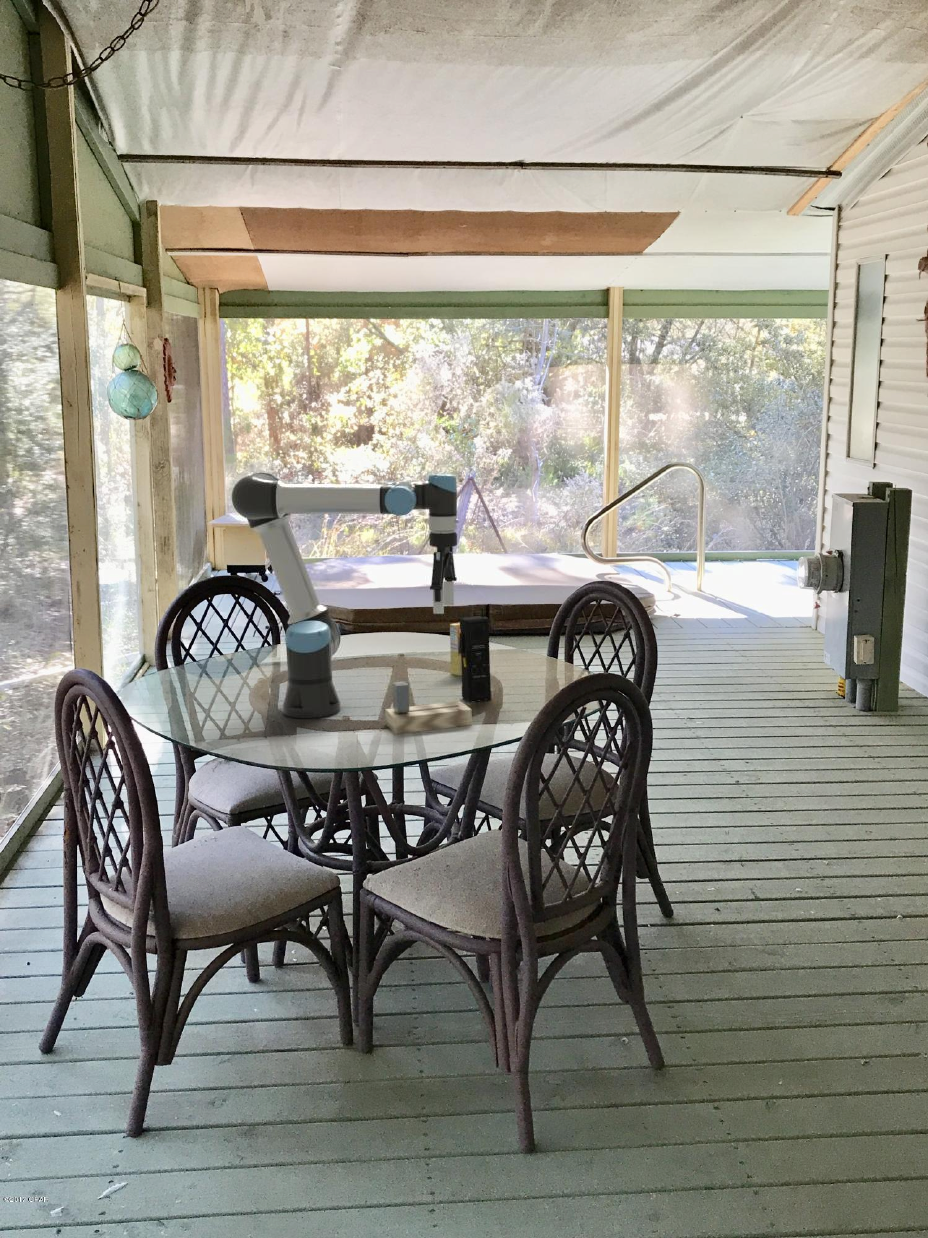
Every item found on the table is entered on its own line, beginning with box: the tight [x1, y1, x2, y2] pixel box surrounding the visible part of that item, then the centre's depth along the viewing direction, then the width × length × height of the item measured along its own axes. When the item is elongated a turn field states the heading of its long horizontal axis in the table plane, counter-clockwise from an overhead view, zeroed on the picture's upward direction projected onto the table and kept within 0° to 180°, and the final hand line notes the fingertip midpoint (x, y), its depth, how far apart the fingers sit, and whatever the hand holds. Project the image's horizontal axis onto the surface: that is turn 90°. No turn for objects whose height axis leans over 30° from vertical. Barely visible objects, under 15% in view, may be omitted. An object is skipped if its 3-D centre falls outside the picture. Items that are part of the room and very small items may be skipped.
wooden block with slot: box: [384, 700, 473, 735], centre depth 291 cm, size 20×9×4 cm, turn 109°
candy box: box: [449, 622, 462, 677], centre depth 345 cm, size 9×4×15 cm, turn 129°
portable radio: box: [459, 607, 492, 703], centre depth 313 cm, size 8×6×25 cm
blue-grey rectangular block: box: [392, 680, 410, 713], centre depth 288 cm, size 3×4×7 cm
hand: (443, 609), depth 314 cm, fingers open, 13 cm apart
